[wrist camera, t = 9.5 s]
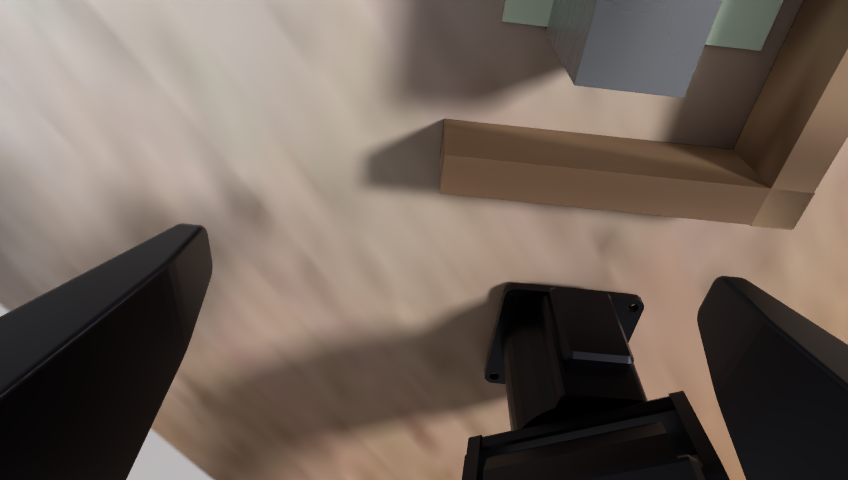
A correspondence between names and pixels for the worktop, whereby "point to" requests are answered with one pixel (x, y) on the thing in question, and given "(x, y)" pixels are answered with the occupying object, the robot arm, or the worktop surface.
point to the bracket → (631, 42)
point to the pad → (733, 27)
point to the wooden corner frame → (682, 148)
